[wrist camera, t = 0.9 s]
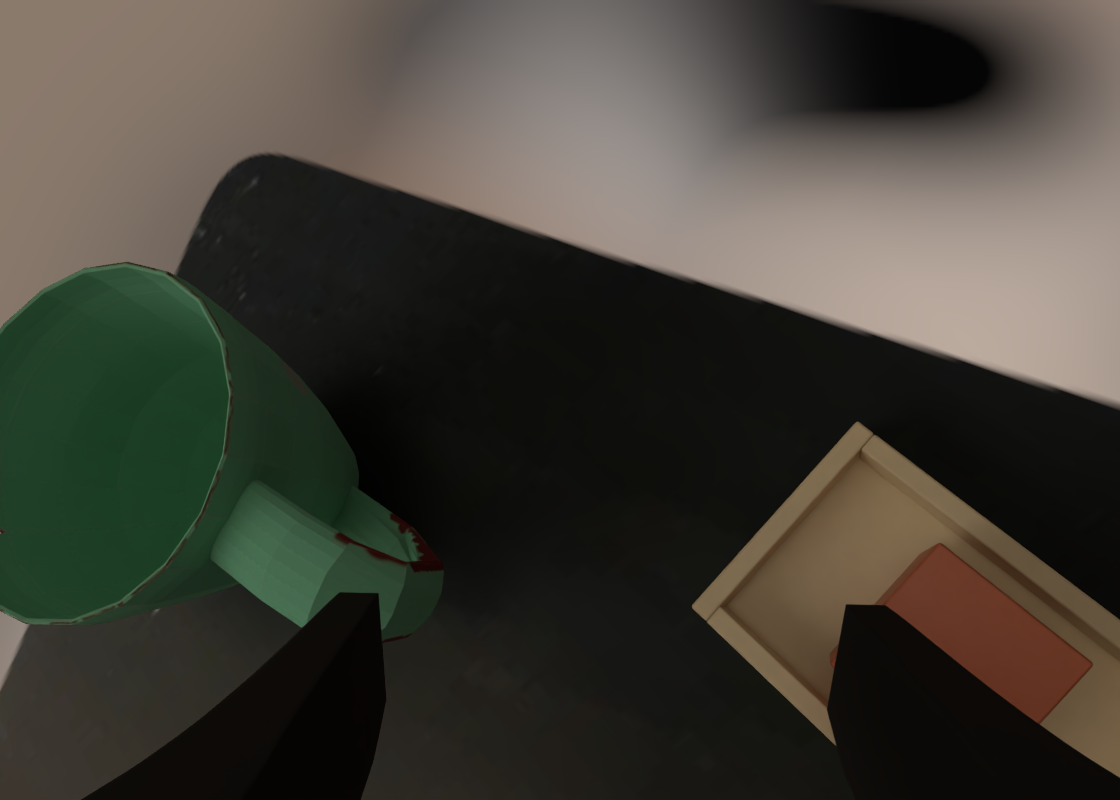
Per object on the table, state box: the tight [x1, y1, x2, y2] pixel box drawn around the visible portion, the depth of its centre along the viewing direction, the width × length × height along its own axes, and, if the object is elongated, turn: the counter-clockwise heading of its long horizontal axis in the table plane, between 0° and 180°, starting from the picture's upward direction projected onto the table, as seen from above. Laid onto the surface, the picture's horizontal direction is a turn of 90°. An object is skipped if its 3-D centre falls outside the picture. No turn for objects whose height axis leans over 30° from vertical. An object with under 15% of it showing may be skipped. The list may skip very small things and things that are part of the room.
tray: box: [692, 422, 1120, 777], centre depth 22 cm, size 11×7×2 cm, turn 46°
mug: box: [0, 262, 444, 643], centre depth 25 cm, size 15×10×10 cm
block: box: [830, 543, 1093, 724], centre depth 21 cm, size 4×4×4 cm
